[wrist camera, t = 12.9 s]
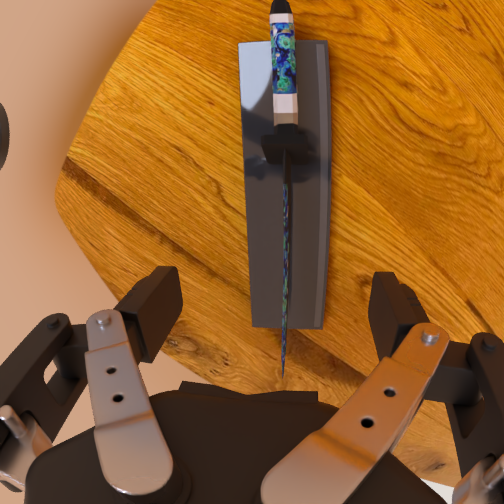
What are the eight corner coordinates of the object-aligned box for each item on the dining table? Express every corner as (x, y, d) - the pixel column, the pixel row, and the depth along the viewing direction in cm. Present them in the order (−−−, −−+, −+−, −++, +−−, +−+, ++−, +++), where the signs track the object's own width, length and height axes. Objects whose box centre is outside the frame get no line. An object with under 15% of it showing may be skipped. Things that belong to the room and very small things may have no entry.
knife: (273, 18, 21) (266, -6, 16) (310, 19, 20) (309, -6, 16) (257, 357, 29) (249, 386, 25) (289, 361, 29) (285, 391, 24)
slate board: (254, 318, 32) (252, 327, 31) (241, 46, 22) (237, 42, 20) (322, 321, 31) (322, 330, 30) (326, 44, 21) (327, 39, 19)
